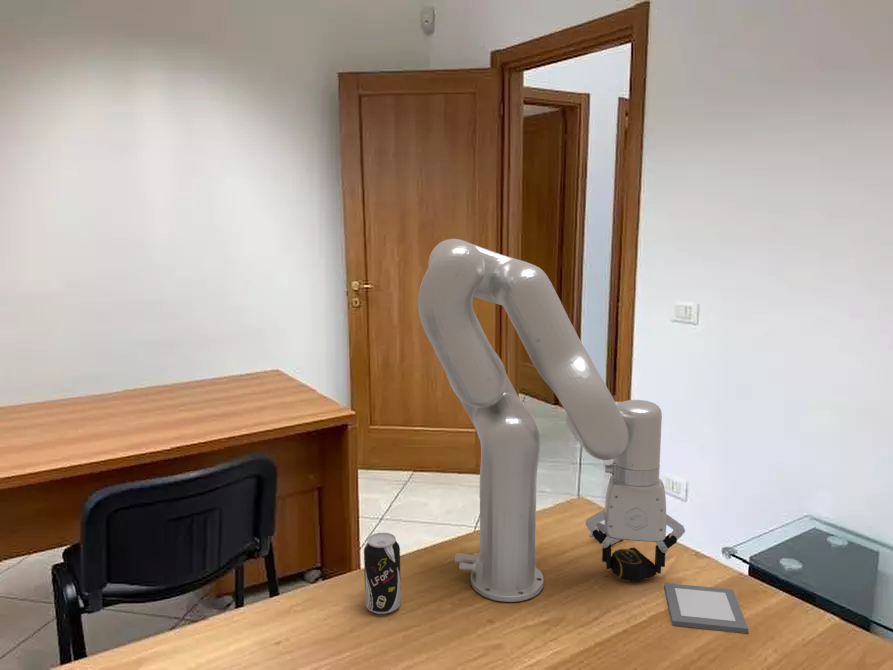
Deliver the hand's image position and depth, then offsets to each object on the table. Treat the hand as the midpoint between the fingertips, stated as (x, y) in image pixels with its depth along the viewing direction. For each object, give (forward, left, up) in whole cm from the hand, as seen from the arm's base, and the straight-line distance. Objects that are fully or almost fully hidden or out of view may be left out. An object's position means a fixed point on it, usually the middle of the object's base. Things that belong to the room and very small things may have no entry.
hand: (632, 567), depth 119 cm
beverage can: (-40, -17, -2) cm, 44 cm away
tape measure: (0, +1, -2) cm, 2 cm away
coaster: (+11, -8, -2) cm, 13 cm away
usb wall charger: (-4, +12, -2) cm, 13 cm away
